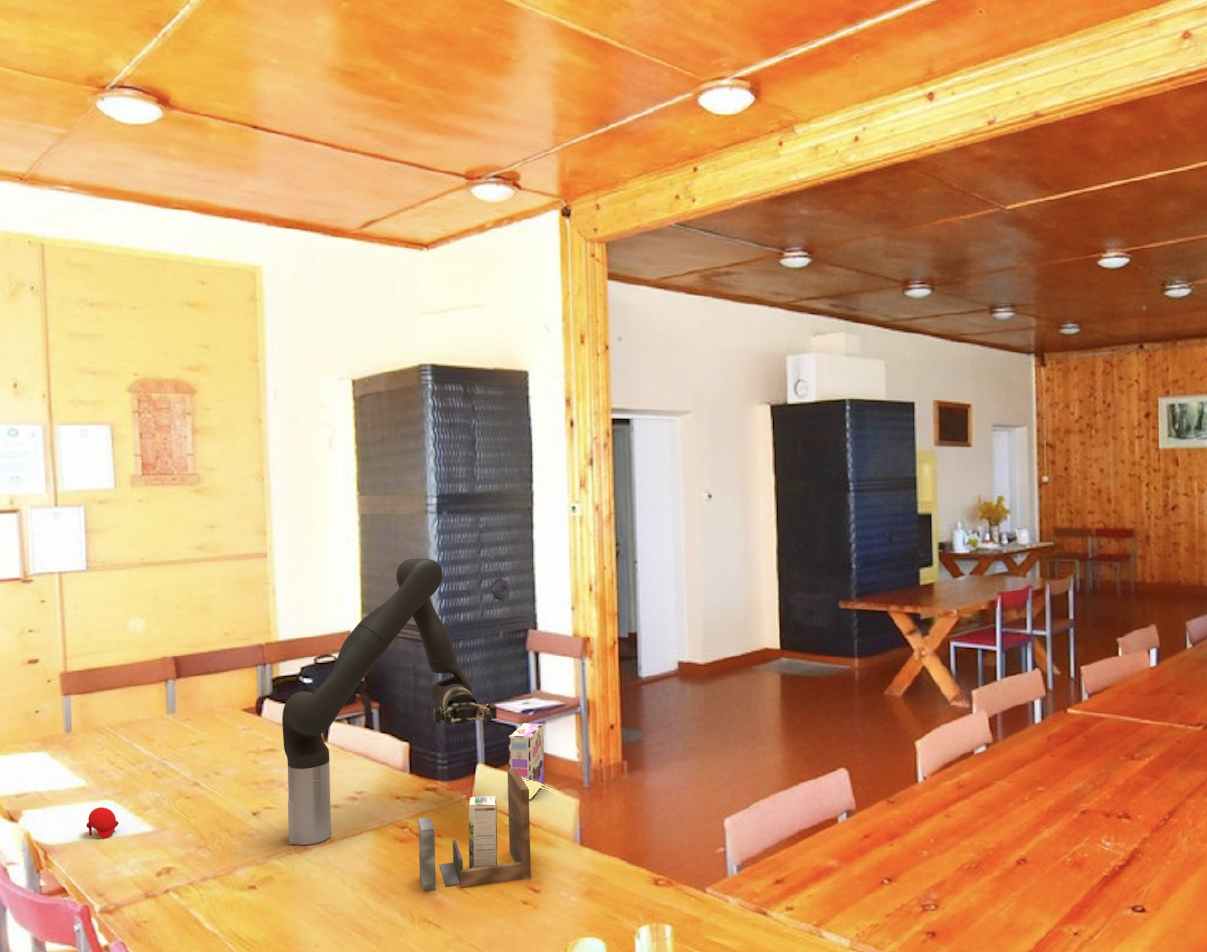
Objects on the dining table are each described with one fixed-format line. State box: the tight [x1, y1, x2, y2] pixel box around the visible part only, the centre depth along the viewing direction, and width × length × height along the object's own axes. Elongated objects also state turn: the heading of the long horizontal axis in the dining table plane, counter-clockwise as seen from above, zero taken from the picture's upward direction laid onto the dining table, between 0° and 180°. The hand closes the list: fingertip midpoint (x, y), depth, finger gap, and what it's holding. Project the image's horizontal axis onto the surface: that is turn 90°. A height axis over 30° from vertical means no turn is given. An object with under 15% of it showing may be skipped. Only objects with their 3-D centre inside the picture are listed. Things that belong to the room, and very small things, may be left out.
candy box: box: [508, 722, 546, 785], centre depth 245 cm, size 14×6×16 cm, turn 168°
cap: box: [86, 806, 120, 840], centre depth 222 cm, size 8×6×6 cm
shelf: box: [418, 768, 532, 892], centre depth 195 cm, size 22×15×18 cm
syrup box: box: [468, 795, 498, 869], centre depth 196 cm, size 6×6×14 cm
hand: (469, 719), depth 211 cm, fingers open, 8 cm apart
